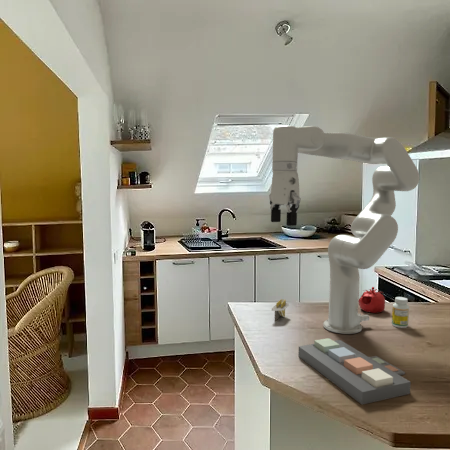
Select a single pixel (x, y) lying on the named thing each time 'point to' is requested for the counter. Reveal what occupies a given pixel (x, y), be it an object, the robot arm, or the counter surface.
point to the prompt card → (388, 365)
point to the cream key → (377, 377)
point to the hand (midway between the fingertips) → (283, 223)
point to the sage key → (325, 344)
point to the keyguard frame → (353, 375)
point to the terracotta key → (357, 365)
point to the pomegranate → (372, 301)
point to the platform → (280, 308)
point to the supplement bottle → (400, 312)
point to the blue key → (340, 354)
